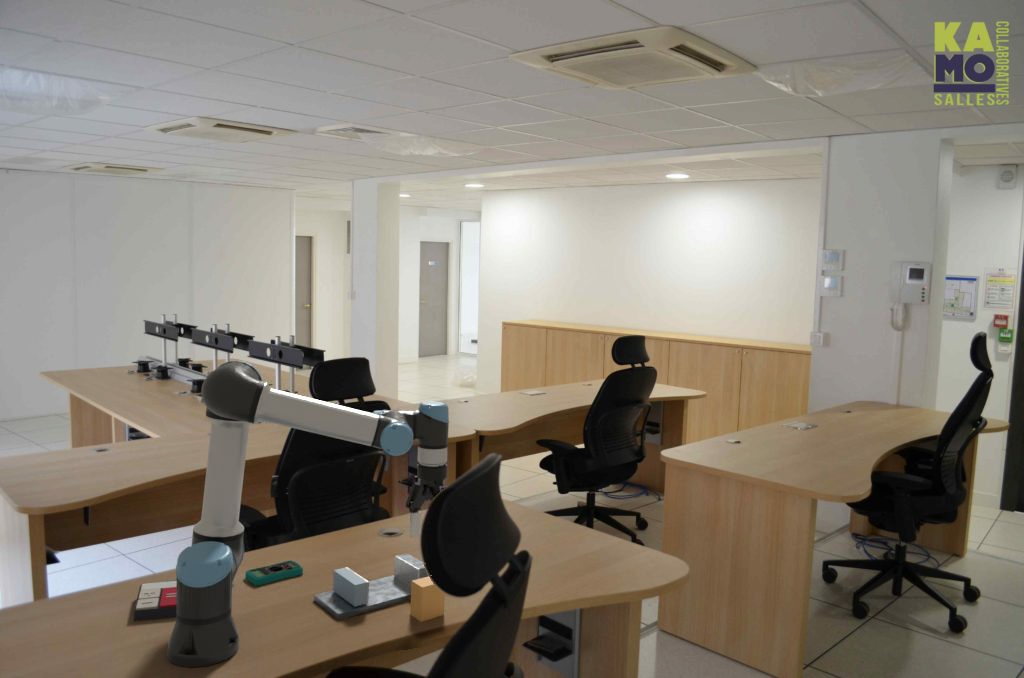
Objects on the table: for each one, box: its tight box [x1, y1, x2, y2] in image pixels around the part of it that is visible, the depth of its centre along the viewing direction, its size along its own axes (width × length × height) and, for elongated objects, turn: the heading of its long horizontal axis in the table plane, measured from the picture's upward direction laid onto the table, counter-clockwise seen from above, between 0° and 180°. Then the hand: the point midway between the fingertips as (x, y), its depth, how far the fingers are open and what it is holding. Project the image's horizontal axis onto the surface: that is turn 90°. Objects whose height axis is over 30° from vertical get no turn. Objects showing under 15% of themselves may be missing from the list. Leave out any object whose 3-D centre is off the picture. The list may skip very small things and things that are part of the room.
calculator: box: [133, 580, 177, 622], centre depth 193 cm, size 11×4×15 cm
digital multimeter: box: [245, 560, 304, 587], centre depth 216 cm, size 7×15×3 cm, turn 134°
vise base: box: [313, 552, 428, 621], centre depth 204 cm, size 28×14×8 cm, turn 130°
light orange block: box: [410, 576, 446, 623], centre depth 195 cm, size 7×5×9 cm
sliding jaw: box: [332, 566, 370, 607], centre depth 200 cm, size 4×12×6 cm, turn 40°
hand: (429, 544), depth 194 cm, fingers open, 13 cm apart
